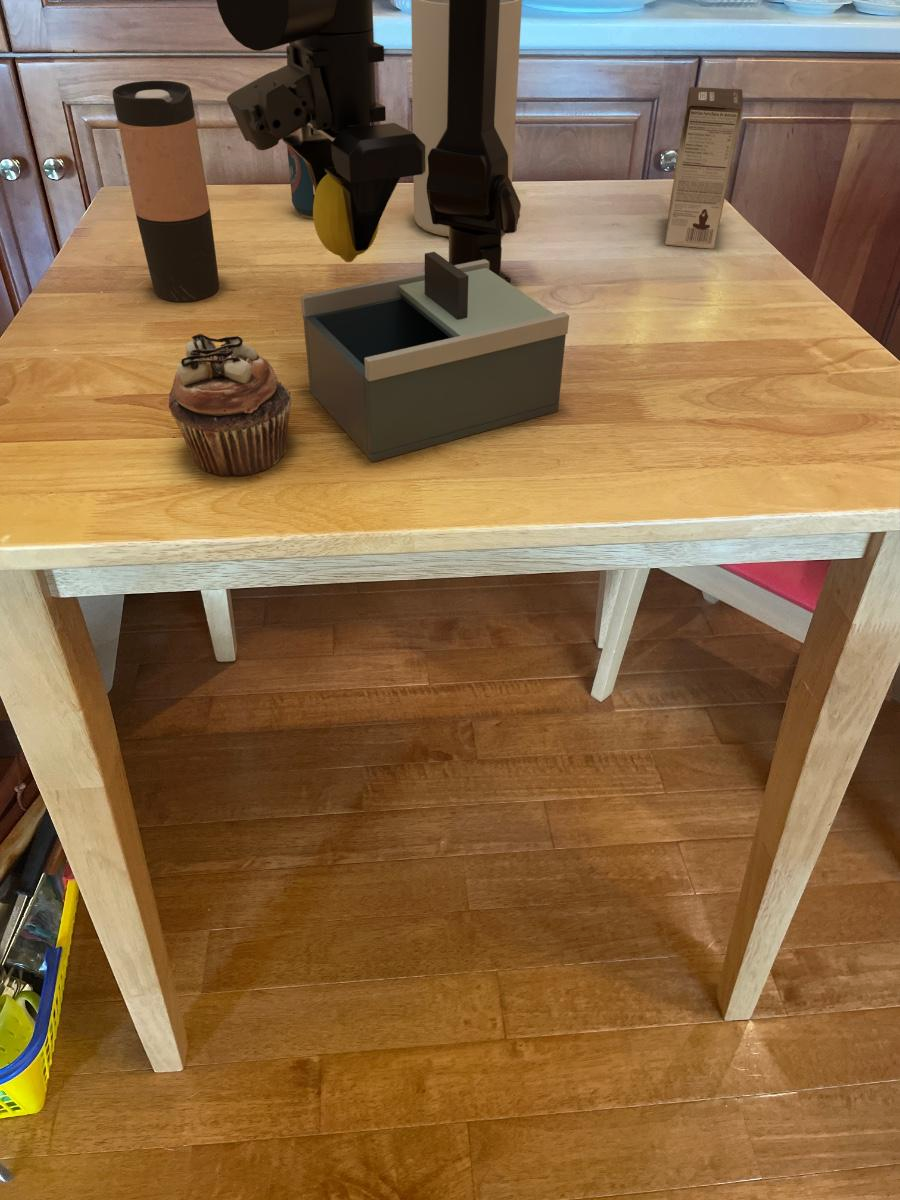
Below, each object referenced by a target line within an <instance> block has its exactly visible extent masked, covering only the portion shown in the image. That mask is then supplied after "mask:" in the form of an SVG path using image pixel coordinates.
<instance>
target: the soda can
mask: <svg viewBox="0 0 900 1200" xmlns="http://www.w3.org/2000/svg"><path fill="white" fill-rule="evenodd" d="M288 136H291V134H289V135H288ZM286 149H287V150H286V151H287V160H288V161H287V162H288V171H289V172H288V173H289V183H290V195H291V203H292V206H293V207H294V209H295V210H296V212H297V213H298V215H299V216H301V217H303V218H306V219H311V220H314V219H313V204H314V197H315V193H316V192H315V189H314V186H313V183H312V180H311V177H310V174H309V171H308V168H307V166H306V163H305V161H304V160H303V158H302V157H300V156H299V155H298V154H297V153H296V152H295V151H294V150H293V149H291V148H290V147H289V146H288V145H287V144H286Z"/></svg>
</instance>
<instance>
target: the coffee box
mask: <svg viewBox="0 0 900 1200" xmlns="http://www.w3.org/2000/svg"><path fill="white" fill-rule="evenodd" d="M743 95H744V94H743V89H742V88H719V87H704V86H703V87H702V86H689V87H688V92H687V97H686V102H685V109H684V115H683V121H682V128H681V132H680V133H681V134H680V139H679V145H678V150H677V151H678V152H677V155H676V164H675V169H674V174H673V175H674V176H673V181H672V189H671V194H670V203H669V208H668V217H667V225H666V232H665V233H666V234H665V242H664V244H665V245H666V246H674V247H675V246H676V247H687V248H699V249H710V250H711V249H712V250H713V249H715V248H716V244H717V243H716V242H717V239H718V238H717V237H718V232H719V228H720V223H721V218H722V212H723V207H724V203H725V198H726V194H727V188H728V184H729V181H730V180H729V179H730V175H731V169H732V165H733V160H734V156H735V155H734V154H735V149H736V145H737V140H738V136H739V130H740V125H741V120H742V116H743V111H744V101H743V100H744V99H743V98H744V97H743Z"/></svg>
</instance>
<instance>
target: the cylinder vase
mask: <svg viewBox="0 0 900 1200" xmlns="http://www.w3.org/2000/svg"><path fill="white" fill-rule="evenodd" d="M410 4H411V7H410V9H411V11H410V12H411V13H410V14H411V16H410V18H411V85H412V86H411V87H412V88H411V89H412V90H411V93H412V95H411V97H412V133H414V134H415V135H416V136H417V137H418V138H419V139H420V140H421V141H422V142H423V143H424V145H425V172H424V173H423V174H422V175H415V176H412V177H413V178H412V179H413V181H412V182H413V219H414V221H415V223H416V224H417V225H418V226H419V227H420V228H421V229H423V231H426V232H429V233H431V234H433V235H438V236H441V237H448V238H449V226H445V225H440V224H438V225H435V224H433V223H432V218H431V212H430V207H429V201H428V196H427V178H428V173H429V172H428V155H429V153H430V151H431V149H432V148H436V146H437V144H438V143H439V141H440V139H441V137H442V136H443V134H444V132H445V131H446V128H447V94H448V33H449V0H410ZM522 7H523V0H500V9H499V31H498V52H497V74H496V95H495V117H494V126H495V129H496V131H497V133H498V135H499V137H500V139H501V141H502V143H503V145H504V147H505V149H506V151H507V154H508V177H509V179H510V181H511V183H512V184H513V175H514V173H513V171H514V157H515V156H514V154H515V152H514V151H515V137H516V118H517V117H516V116H517V101H518V100H517V98H518V82H519V81H518V79H519V62H520V41H521V28H522V27H521V25H522V9H523V8H522Z"/></svg>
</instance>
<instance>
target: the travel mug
mask: <svg viewBox="0 0 900 1200" xmlns="http://www.w3.org/2000/svg"><path fill="white" fill-rule="evenodd" d="M112 100H113V104H114V105H113V106H114V110H115V115H116V119H117V120H116V121H117V126H118V130H119V131H118V132H119V136H120V140H121V146H122V150H123V157H124V160H125V161H124V162H125V166H126V171H127V176H128V181H129V186H130V191H131V197H132V202H133V207H134V212H135V218H136V222H137V226H138V230H139V234H140V238H141V242H142V246H143V250H144V255H145V259H146V264H147V267H148V268H147V269H148V271H149V276H150V280H151V284H152V289H153V292H154V294H155V295H156V297H158V298H160V299H162V300H164V301H167V302H175V303H187V302H195V301H200V300H204V299H207V298H209V297H211V296H213V295H214V294H216V293H217V292H218V290H219V289H220V280H219V270H218V264H217V263H218V262H217V255H216V245H215V239H214V238H215V237H214V230H213V229H214V228H213V222H212V212H211V205H210V200H209V193H208V187H207V181H206V175H205V169H204V163H203V156H202V150H201V144H200V138H199V132H198V131H199V130H198V125H197V119H196V113H195V107H194V100H193V94H192V89H191V87H190V85H188V84H186V83H184V82H180V81H174V80H173V81H172V80H141V81H134V82H128V83H125V84H121V85H118V86H116V87H115V88H113V89H112Z"/></svg>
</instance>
